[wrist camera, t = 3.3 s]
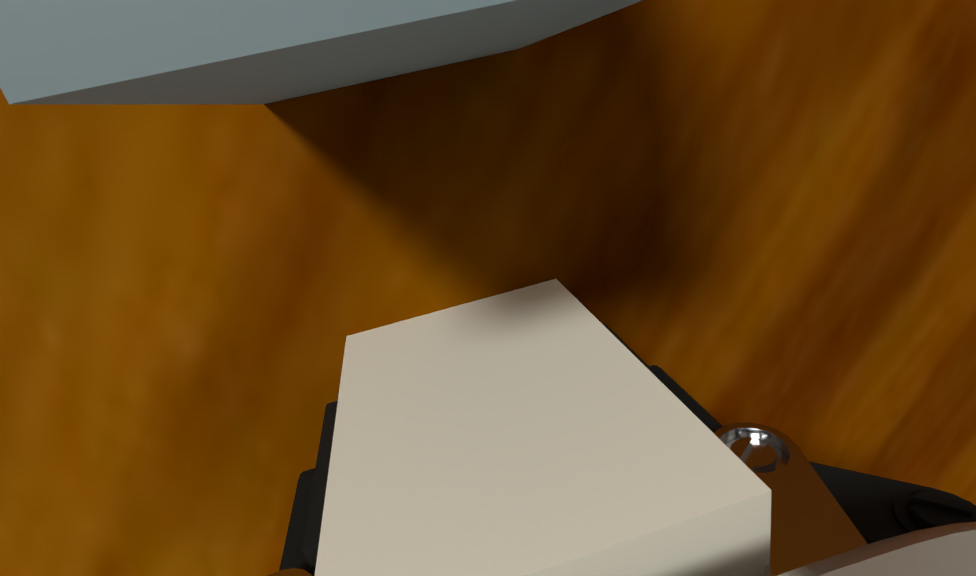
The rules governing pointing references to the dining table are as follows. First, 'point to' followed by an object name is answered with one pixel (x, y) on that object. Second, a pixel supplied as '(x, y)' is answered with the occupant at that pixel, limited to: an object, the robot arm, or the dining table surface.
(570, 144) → the dining table surface
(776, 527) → the robot arm
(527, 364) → the cream block
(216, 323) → the dining table surface
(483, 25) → the slate-blue block
